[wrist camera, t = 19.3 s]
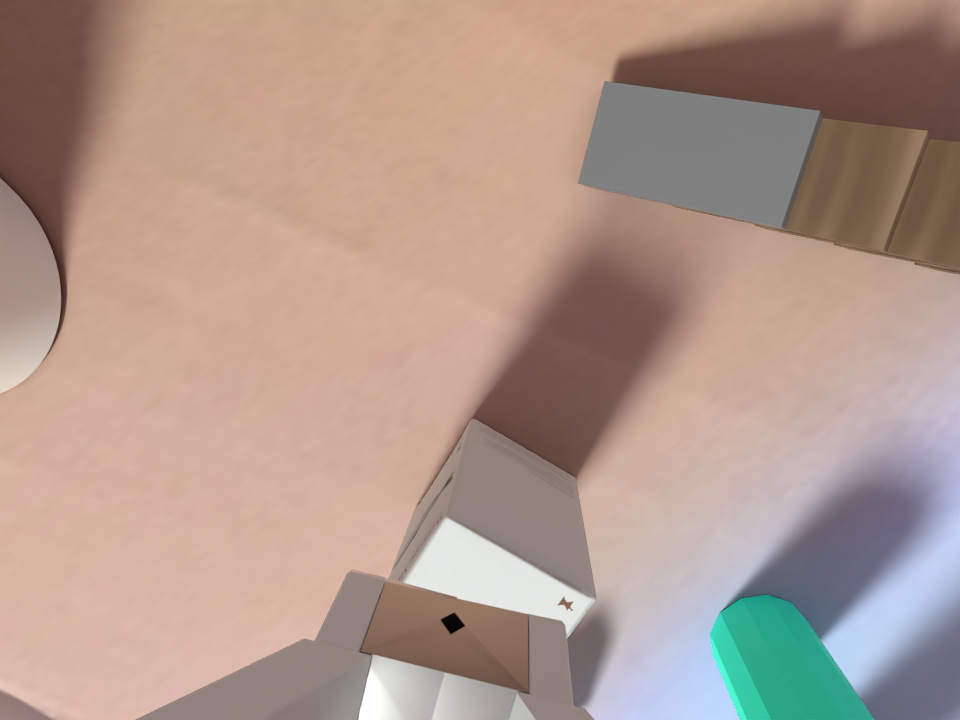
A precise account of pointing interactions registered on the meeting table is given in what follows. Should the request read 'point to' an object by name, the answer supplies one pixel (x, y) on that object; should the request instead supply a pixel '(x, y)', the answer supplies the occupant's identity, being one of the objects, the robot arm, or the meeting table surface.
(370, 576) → the robot arm
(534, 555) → the supplement box
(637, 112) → the gray domino
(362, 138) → the meeting table surface
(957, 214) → the domino
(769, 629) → the candle
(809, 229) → the domino
